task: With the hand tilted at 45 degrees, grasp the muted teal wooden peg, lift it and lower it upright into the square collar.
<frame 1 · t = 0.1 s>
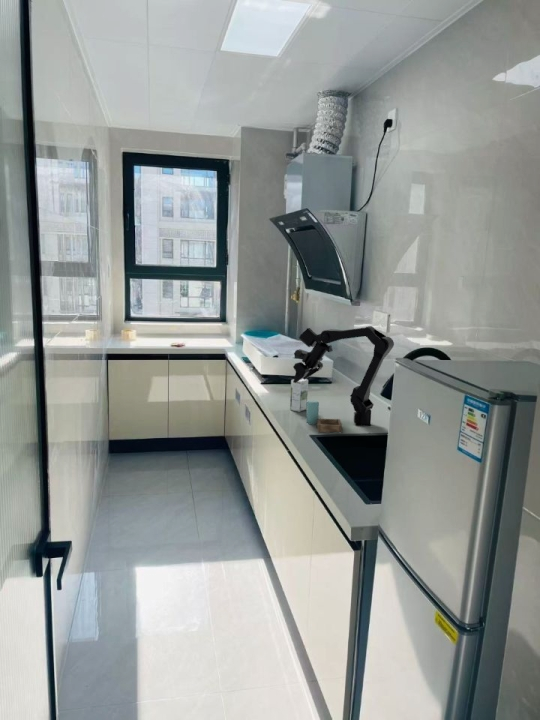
hand: (299, 380, 250), 15 cm above the worktop, tool tilted 35°, fingers open, 9 cm apart
collar: (328, 429, 228), on the worktop
syrup box: (298, 410, 257), on the worktop
peg: (312, 422, 237), on the worktop
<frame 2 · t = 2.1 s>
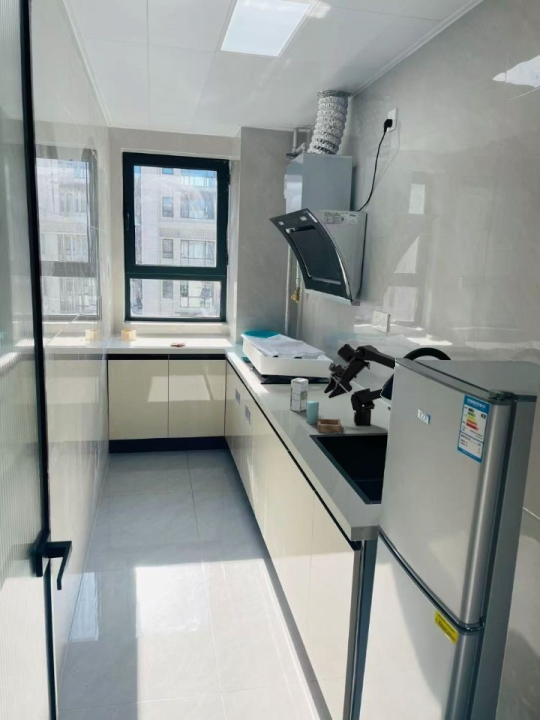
hand: (326, 395, 236), 12 cm above the worktop, tool tilted 45°, fingers open, 9 cm apart
nothing on the worktop moved.
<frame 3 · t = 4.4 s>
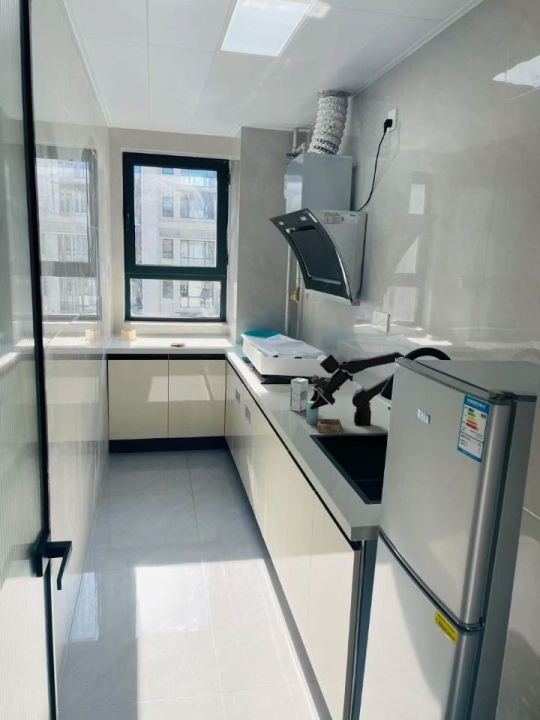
hand: (309, 407, 236), 7 cm above the worktop, tool tilted 45°, fingers closed on peg, 5 cm apart
peg: (312, 422, 237), on the worktop, touching gripper
everything else where it was.
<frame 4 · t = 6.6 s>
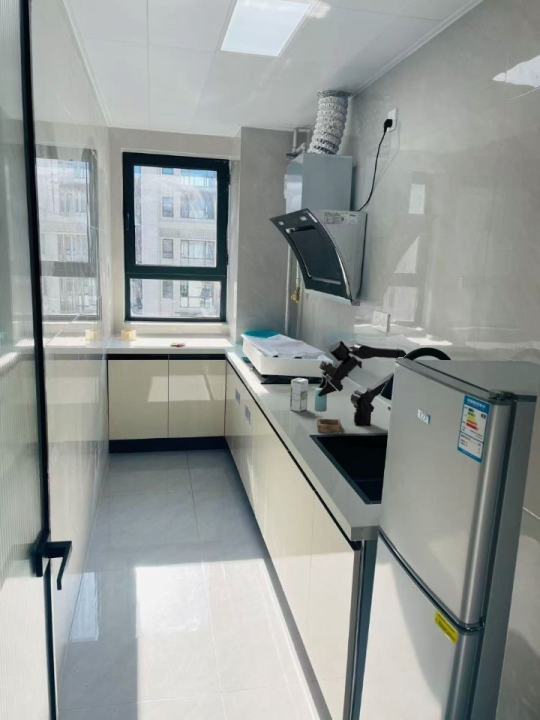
hand: (317, 394, 231), 13 cm above the worktop, tool tilted 45°, fingers closed on peg, 5 cm apart
peg: (320, 410, 233), point 7 cm above the worktop, touching gripper
everything else where it was.
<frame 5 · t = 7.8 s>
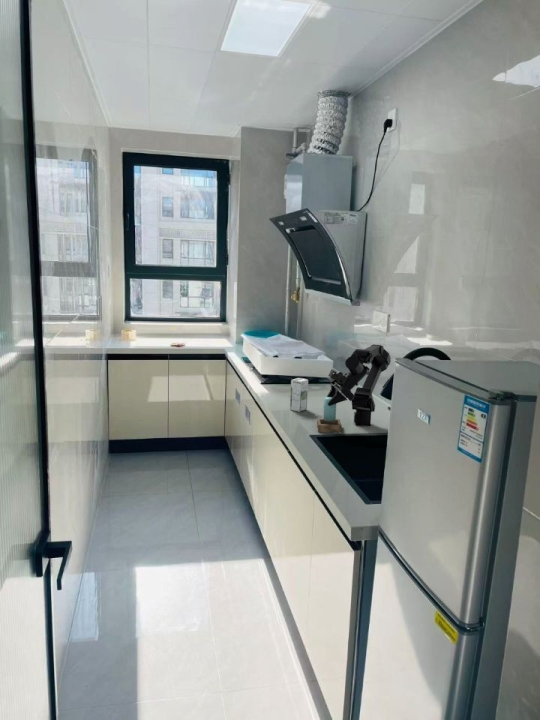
hand: (326, 403, 226), 11 cm above the worktop, tool tilted 45°, fingers closed on peg, 5 cm apart
peg: (329, 419, 228), point 4 cm above the worktop, touching gripper
everything else where it was.
when the fingers open (8 cm above the worktop, at t = 8.8 s): peg drops 1 cm, resting in collar.
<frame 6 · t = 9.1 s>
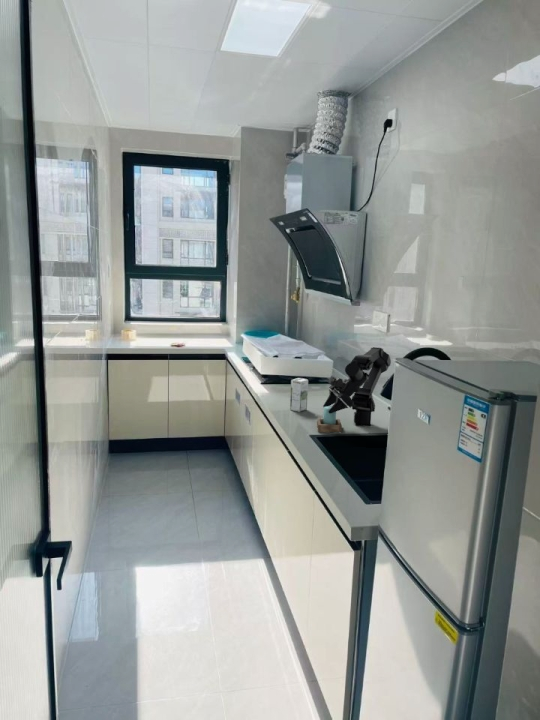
hand: (326, 409, 227), 8 cm above the worktop, tool tilted 45°, fingers open, 8 cm apart
peg: (329, 429, 229), resting in collar
everything else where it was.
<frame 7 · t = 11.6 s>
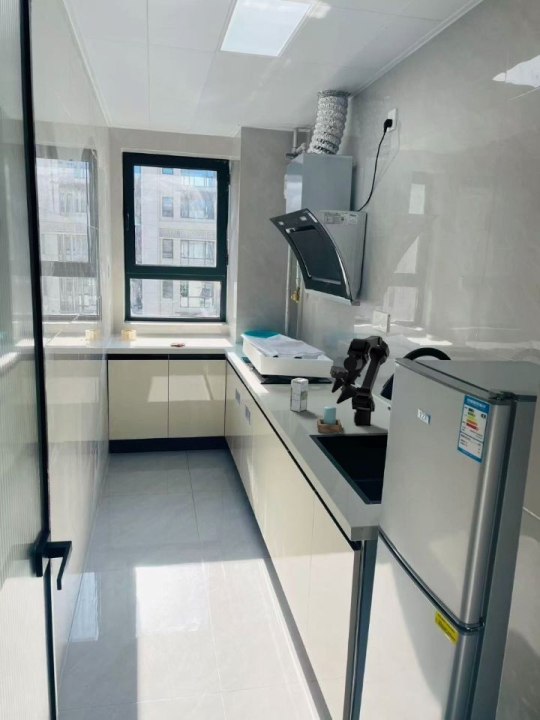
hand: (334, 397, 231), 12 cm above the worktop, tool tilted 30°, fingers open, 9 cm apart
nothing on the worktop moved.
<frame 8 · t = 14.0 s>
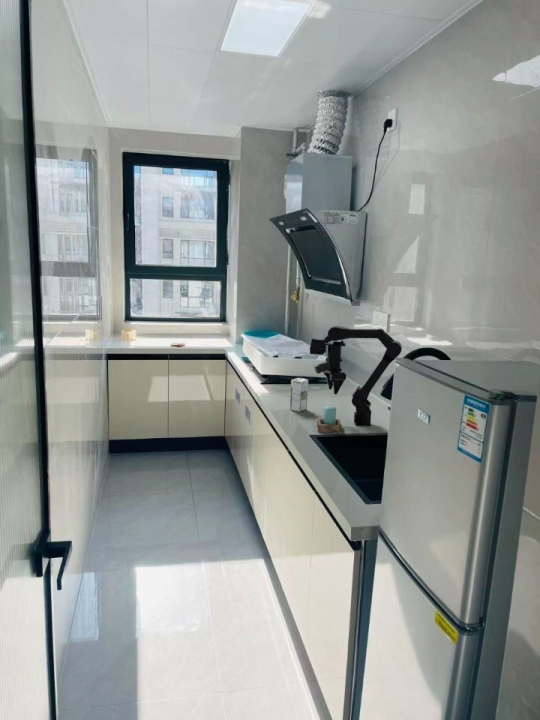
hand: (332, 391, 238), 13 cm above the worktop, tool pointing down, fingers open, 9 cm apart
nothing on the worktop moved.
at the end: peg 0.1 cm off-centre on the collar, point 0.0 cm above the collar's base; peg tilted 1°; the gripper is holding nothing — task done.
